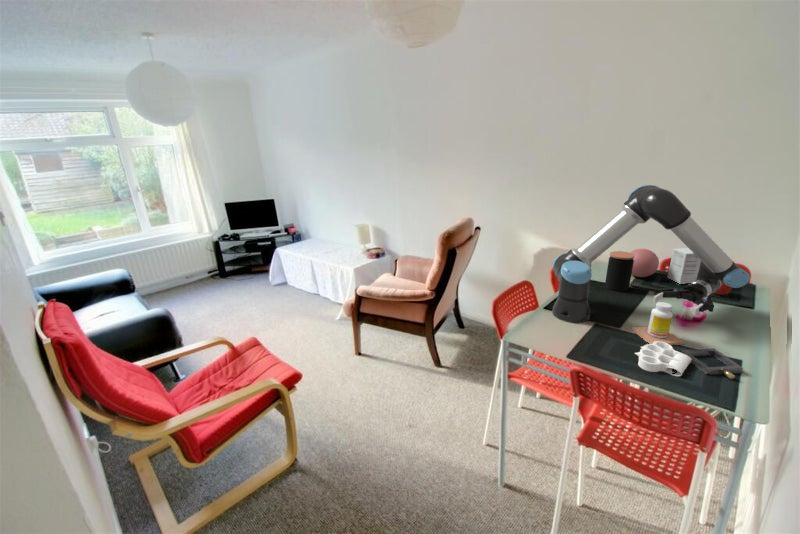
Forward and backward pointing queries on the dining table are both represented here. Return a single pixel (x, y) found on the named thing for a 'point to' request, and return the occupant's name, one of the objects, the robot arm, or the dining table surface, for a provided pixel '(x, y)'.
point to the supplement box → (684, 266)
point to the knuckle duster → (662, 358)
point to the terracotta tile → (643, 333)
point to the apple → (723, 289)
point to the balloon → (644, 263)
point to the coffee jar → (619, 270)
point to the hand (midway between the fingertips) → (673, 305)
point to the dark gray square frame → (726, 370)
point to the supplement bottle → (660, 320)
